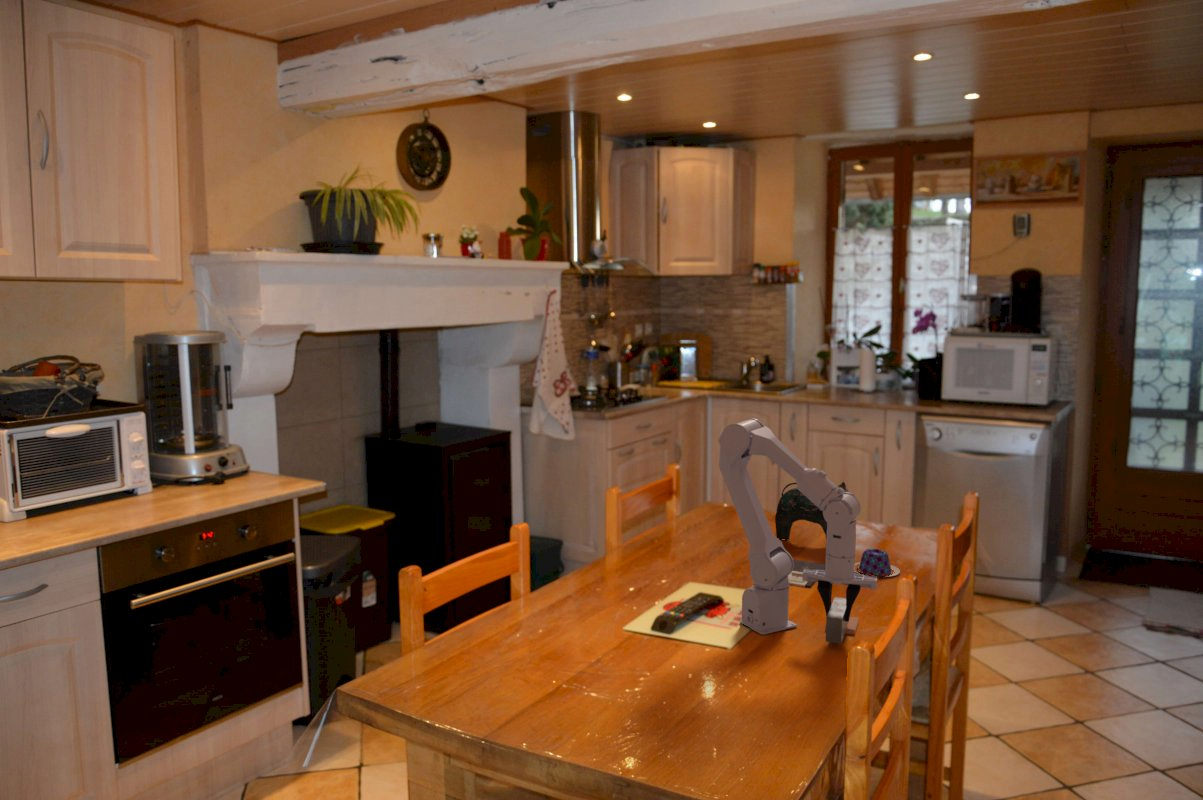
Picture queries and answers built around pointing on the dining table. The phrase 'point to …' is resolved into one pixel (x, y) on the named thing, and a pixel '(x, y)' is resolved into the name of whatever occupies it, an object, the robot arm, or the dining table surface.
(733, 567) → the dining table surface
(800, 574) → the chocolate bar
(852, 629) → the tile
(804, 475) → the robot arm
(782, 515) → the ceramic cat
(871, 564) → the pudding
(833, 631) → the tall grey plank
